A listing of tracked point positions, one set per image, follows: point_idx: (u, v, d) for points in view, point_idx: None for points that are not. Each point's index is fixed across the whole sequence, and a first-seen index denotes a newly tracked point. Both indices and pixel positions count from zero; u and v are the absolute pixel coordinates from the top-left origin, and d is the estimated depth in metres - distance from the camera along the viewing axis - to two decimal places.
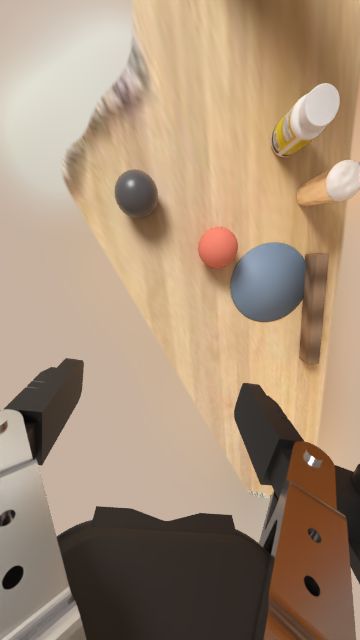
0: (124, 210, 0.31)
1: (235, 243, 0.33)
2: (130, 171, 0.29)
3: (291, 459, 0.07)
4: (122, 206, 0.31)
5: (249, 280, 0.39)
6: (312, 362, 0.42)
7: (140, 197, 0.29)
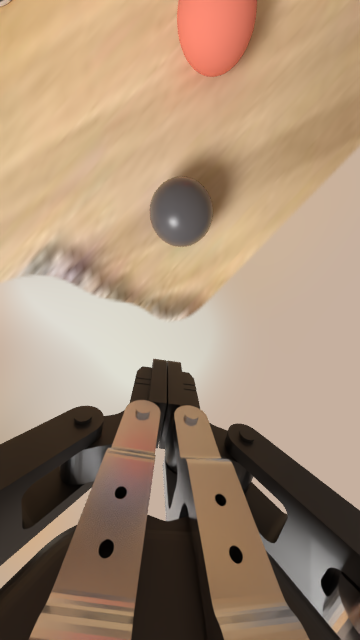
0: (210, 222, 0.21)
1: None
2: (159, 225, 0.20)
3: (177, 431, 0.07)
4: (206, 225, 0.20)
5: None
6: None
7: (189, 195, 0.18)
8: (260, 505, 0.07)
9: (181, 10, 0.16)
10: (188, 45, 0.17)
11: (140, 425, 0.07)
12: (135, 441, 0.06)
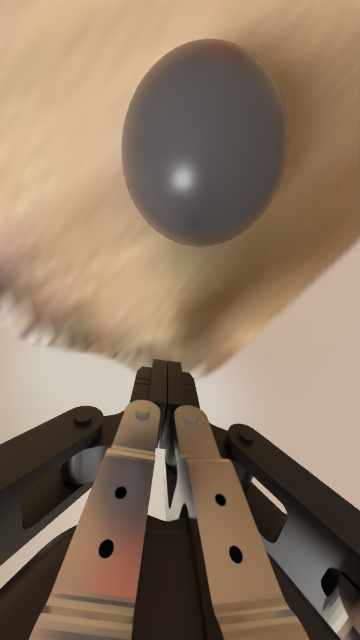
0: (279, 182, 0.08)
1: None
2: (144, 186, 0.07)
3: (177, 431, 0.07)
4: (273, 190, 0.08)
5: None
6: None
7: (240, 79, 0.06)
8: (260, 505, 0.07)
9: None
10: None
11: (140, 425, 0.07)
12: (135, 441, 0.06)
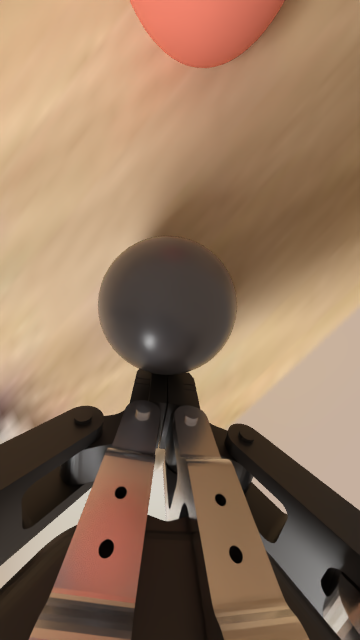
0: (235, 315, 0.09)
1: None
2: (120, 337, 0.08)
3: (177, 431, 0.07)
4: (232, 323, 0.09)
5: None
6: None
7: (189, 262, 0.08)
8: (260, 505, 0.07)
9: None
10: None
11: (140, 425, 0.07)
12: (135, 441, 0.06)
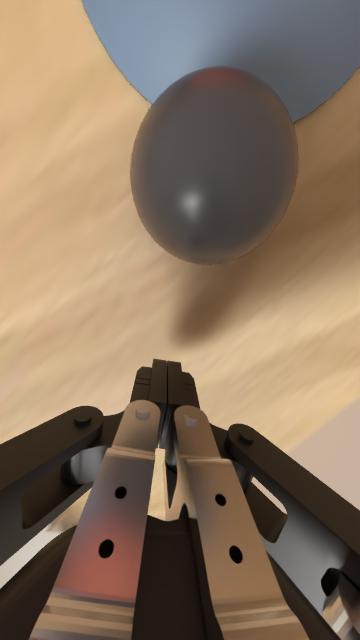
0: None
1: None
2: None
3: (177, 431, 0.07)
4: None
5: (254, 46, 0.10)
6: None
7: None
8: (260, 505, 0.07)
9: None
10: None
11: (140, 425, 0.07)
12: (135, 441, 0.06)
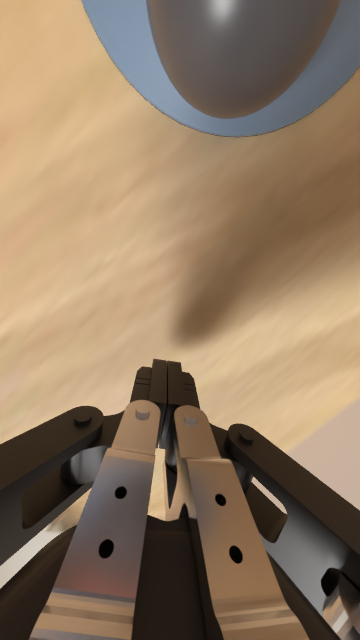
0: (335, 10, 0.07)
1: None
2: (190, 68, 0.07)
3: (177, 431, 0.07)
4: (326, 32, 0.07)
5: None
6: None
7: None
8: (260, 505, 0.07)
9: None
10: None
11: (140, 425, 0.07)
12: (135, 441, 0.06)
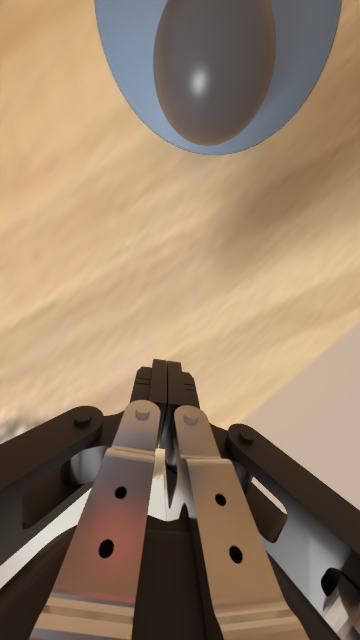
0: (269, 83, 0.11)
1: None
2: (181, 121, 0.11)
3: (177, 431, 0.07)
4: (264, 96, 0.11)
5: None
6: None
7: (239, 37, 0.09)
8: (260, 505, 0.07)
9: None
10: None
11: (140, 425, 0.07)
12: (135, 441, 0.06)
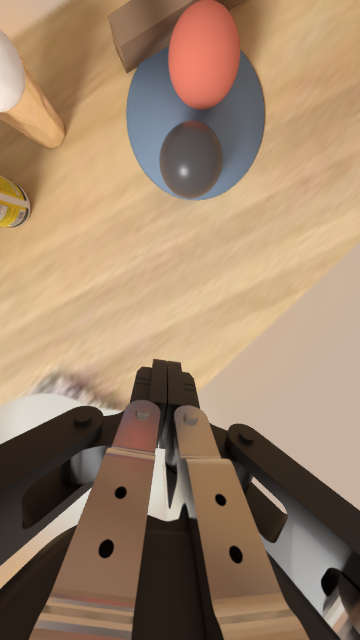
0: None
1: (193, 57, 0.17)
2: (174, 188, 0.21)
3: (177, 431, 0.07)
4: (218, 177, 0.21)
5: None
6: None
7: (201, 158, 0.19)
8: (260, 505, 0.07)
9: (170, 71, 0.19)
10: None
11: (139, 425, 0.07)
12: (135, 441, 0.06)
